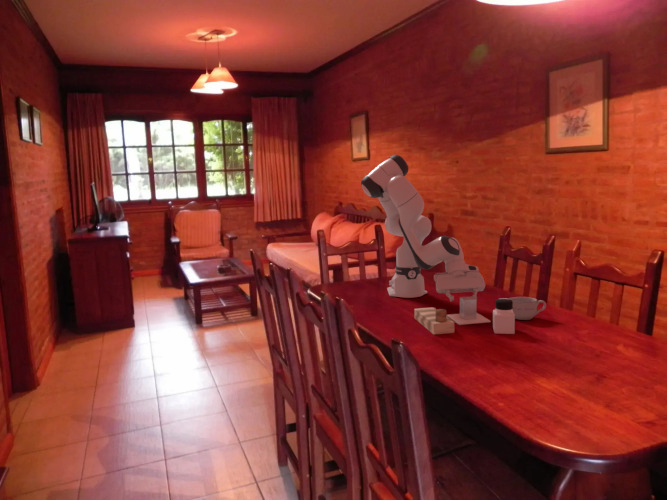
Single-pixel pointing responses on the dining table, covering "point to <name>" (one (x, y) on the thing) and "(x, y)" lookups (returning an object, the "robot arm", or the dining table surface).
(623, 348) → the dining table surface
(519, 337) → the dining table surface
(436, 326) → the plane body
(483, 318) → the off-white pad
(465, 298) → the gray rectangular block
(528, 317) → the teacup
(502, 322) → the medicine bottle
